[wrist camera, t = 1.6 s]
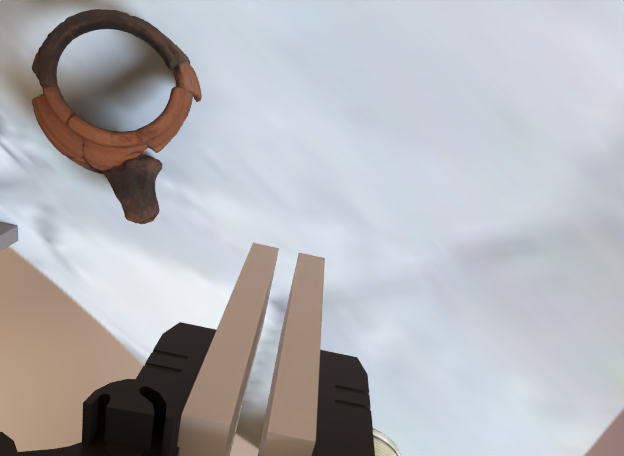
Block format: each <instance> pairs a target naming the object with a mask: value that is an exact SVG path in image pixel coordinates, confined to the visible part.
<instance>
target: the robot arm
mask: <svg viewBox="0 0 624 456" xmlns="http://www.w3.org/2000/svg"><path fill="white" fill-rule="evenodd" d="M278 250H279V248H275V247H270V246H266V245H261V244H256V243H253V244H252V247H251V249H250V251H249V254H248V256H247V259H246V261H245V263H244V266H243V268H242V271H241V273H240V275H239V278H238V280H237V283H236V285H235V287H234V290H233V292H232V295H231V297H230V299H229V302H228V304H227V307H226V309H225V311H224V314H223V316H222V319H221V321H220V323H219V326H218V328H217V330H215V329H210V328H205V327H200V326H195V325H191V324H186V323H181V322H180V323H178V324H177V325H175V326H174V327H172V328H171V329H169V330H168V331H166V332H165V333H163V334H162V336H161V338H160V339H159V341H158V343H157V344H156V346H155V348H154V350H153V353H151V355H150V356H149V358H148V360H147V361H146V364H145V366H143V368H142V370H141V371H140V373H139V375H138V376H137V378H136V379H126V380H121V381H117V382H112V383H109V384H107V385H105V386H103V387H101V388H100V389H98V390H96V391H94V392H93V393H92V394H91V396H90V397H88V399H87V400H85V401H84V403H83V428H82V442H81V443H78V444H75V445H72V446H69V447H63V448H57V449H50V450H37V451H25V452H17V449H16V446H15V443H14V441H13V440H12V439H11V438H9V437H8V436H7V435H5V434H4V433H3V432H0V456H230V452H231V448H232V444H233V440H234V437H235V433H236V429H237V425H238V421H239V417H240V413H241V409H242V405H243V402H244V398H245V394H246V390H247V386H248V382H249V378H250V374H251V371H252V367H253V363H254V359H255V355H256V351H257V347H258V343H259V339H260V336H261V332H262V328H263V323H264V318H265V314H266V309H267V304H268V299H269V294H270V289H271V284H272V279H273V275H274V270H275V265H276V260H277V255H278ZM324 261H325V258H321V257H317V256H312V255H308V254H303V253H299V255H298V259H297V264H296V268H295V273H294V277H293V282H292V286H291V290H290V295H289V299H288V304H287V308H286V313H285V317H284V322H283V326H282V330H281V336H280V341H279V346H278V352H277V357H276V362H275V368H274V373H273V378H272V384H271V389H270V394H269V399H268V405H267V410H266V415H265V421H264V426H263V431H262V437H261V442H260V447H259V453H258V456H375V448H374V438H373V427H372V417H371V410H370V397H369V387H368V376H367V373H366V371H365V370H364V368H363V366H362V365H361V363H360V361H359V360H358V358H357V357H352V356H348V355H343V354H338V353H333V352H328V351H323V350H320V342H321V322H322V302H323V282H324Z"/></svg>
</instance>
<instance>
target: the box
mask: <svg viewBox="0 0 624 456" xmlns="http://www.w3.org/2000/svg"><path fill="white" fill-rule="evenodd" d="M16 241H18V230H17V226H15V225H11V224H6V223H1V222H0V251H1V250H3V249H5V248H6V247H8V246H10V245H11V244H13V243H15V242H16Z"/></svg>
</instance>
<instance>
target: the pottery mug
mask: <svg viewBox="0 0 624 456" xmlns="http://www.w3.org/2000/svg"><path fill="white" fill-rule="evenodd" d="M99 29H115V30H121V31H125V32H128V33H131V34H133V35H135V36H137V37H139V38H141V39H143V40H144V41H146V42H147V43H149V44H150V45H151V46H152V47H153V48H154V49H155V50H156V51H157V52H158V53H159V54H160V55H161V57H162V58H163V59H164V61H165V63H166V65H167V66H168V68H169V69H171V70H173V71H174V76H175V80H176V87H174V88H172V90H171V94H170V99H169V101H168V104H167V106H166V108H165V109H164V111H163V112H162V113H161V115H160V116H159V117H157V118H156V119H155V120H154V121H153V122H151V123H150V124H148V125H146V126H144V127H142V128H140V129H137V130H135V131H126V132H117V131H109V130H105V129H101V128H98V127H96V126H93V125H91V124H89V123H87V122H86V121H84V120H83V119H81V118H80V117H79V116H77V115H76V114H75V113H74V111H73V110H72V109H71V108H70V107H69V106H68V104H67V103H66V102H65V100H64V98H63V96H62V94H61V91H60V89H59V87H58V85H57V77H56V73H57V65H58V61H59V58H60V56H61V54H62V52H63V51H64V49H65V48H66V46H67V45H68V44H69V43H70V42H71V41H72V40H73V39H75V38H76V37H78V36H80V35H82V34H84V33H87V32H90V31H93V30H99ZM32 70H33V72H34V73H35V74H36V76H37V78H38V79H39V82H40V85H41V86H42V88H43V93H44V94H42V95H40V96H38V97H36V98H34V99H33V100H32V103H33V107H34V112H35V116H36V118H37V121H38V124H39V125H40V127H41V129H42V131H43V132H44V134H45V135H46V137H47V138H48V140H49V141H50V142H51V143H52V144H53V146H54V147H55V148H56V149H57V150H58V151H60V152H61V153H62V154H63V155H65V156H67V157H68V158H69V159H71V160H72V161H74V162H75V163H77V164H78V165H80V166H82V167H84V168H86V169H88V170H91V171H94V172H97V173H100V174H104V175H105V176H106V177H107V179H108V181H109V183H110V184H111V187H112V189H113V191H114V193H115V195H116V197H117V198H118V200H119V201H120V203H121V205H122V208H123V210H124V213H125V218H126V219H127V220H129V221H132V222H135V223H139V224H145V223H148V222H151V221H153V220H154V219H155V217H156V216H157V215H158V213H159V205H158V201H157V198H156V193H155V180H156V177H157V175H158V173H159V172H160V170H161V169H162V163H161V162H160V161H159V160H157V159H155V158H153V157H150V156H140V157H138V156H139V155H140V154H141V153H142V152H143V151H144V150H145V149H147V148H150V149H152V150H153V151H155V152H156V153H158V152H159V151H161V150H162V149H163V148H164V147H165V146H166V145H167V144H168V143H169V142H170V140H171V139H172V138H173V137H174V136H175V135H176V134H177V132H178V131H179V129H180V127H181V126H182V124H183V122H184V121H185V119H186V117H187V116H188V113H189V111H190V108H191V104H192V99H193V96H194V99H195V100H196V101H197V102H198V101H200V100H201V90H200V85H199V81H198V78H197V76H196V73H195V71H194V69H193V68H192V67H191V66H190V61H189V59H188V57H187V56H186V55H185V54H184V53H183V52H182V50H180V49H179V47H178V46H177V45H175V44H174V43H173V42H172V41H171V40H170V39H169V38H167V37H166V36H165V35H164V34H162V33H161V32H160V31H159V30H158V29H157V28H155V27H154V26H152V25H151V24H150V23H148V22H146V21H144V20H142V19H140V18H137V17H135V16H130V15H128V14H127V13H123V12H119V11H116V10H100V9H97V10H90V11H84V12H81V13H78V14H76V15H74V16H71V17H68V18H67V19H66V20H65V21H64V22H62V23H60V24H59V25H58V26H57V27H56V28H55V29H54V30H53V31H52V32H51V33H50V34H48V37H47V38H46V40H45V41H44V42H43V44H42V46H41V47H40V48H39V50H38V53H37V54H36V56H35V59H34V62H33V65H32Z"/></svg>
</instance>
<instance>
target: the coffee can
mask: <svg viewBox="0 0 624 456" xmlns="http://www.w3.org/2000/svg"><path fill="white" fill-rule="evenodd" d="M373 438H374V448H375V456H401V454H400V452H399V450H398V449H397V447H396V446H395V444H394V443H393V442H392V441H391V440H390V439H389V438H388V437H386V436H385V435H384V434H382V433H380V432H378V431H376V430H374V429H373Z"/></svg>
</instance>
